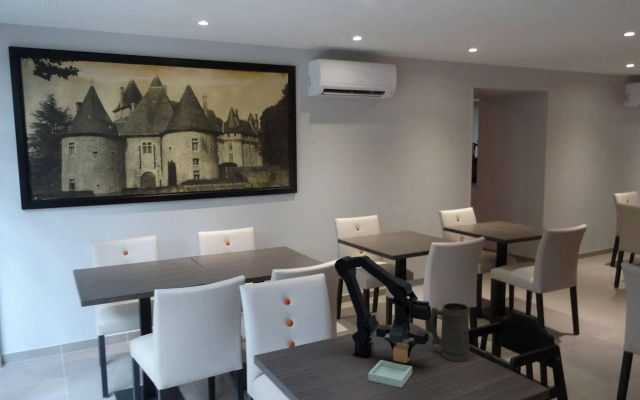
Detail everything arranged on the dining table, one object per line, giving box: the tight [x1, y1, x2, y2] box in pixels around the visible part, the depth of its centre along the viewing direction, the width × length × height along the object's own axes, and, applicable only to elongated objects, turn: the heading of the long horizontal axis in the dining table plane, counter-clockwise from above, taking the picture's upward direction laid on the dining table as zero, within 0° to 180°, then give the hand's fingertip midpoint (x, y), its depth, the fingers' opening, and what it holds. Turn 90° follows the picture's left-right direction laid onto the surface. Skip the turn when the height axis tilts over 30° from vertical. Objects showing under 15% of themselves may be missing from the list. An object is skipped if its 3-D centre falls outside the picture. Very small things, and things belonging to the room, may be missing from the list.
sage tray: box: [367, 359, 413, 389], centre depth 168 cm, size 12×12×2 cm
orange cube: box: [392, 342, 411, 364], centre depth 179 cm, size 5×5×5 cm
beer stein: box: [428, 302, 471, 362], centre depth 185 cm, size 15×11×20 cm
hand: (402, 356), depth 179 cm, fingers closed on orange cube, 5 cm apart
